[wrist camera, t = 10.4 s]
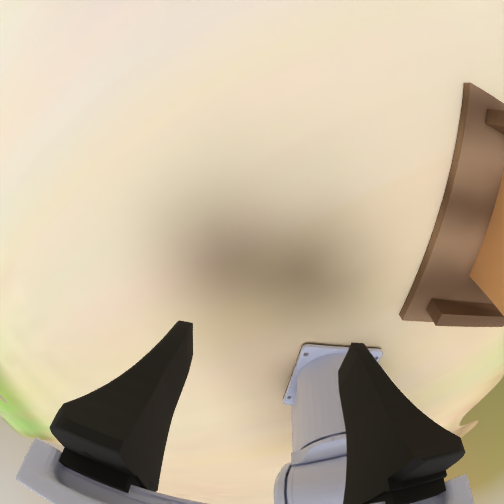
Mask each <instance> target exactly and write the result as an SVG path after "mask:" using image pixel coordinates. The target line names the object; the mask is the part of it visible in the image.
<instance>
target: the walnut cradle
mask: <svg viewBox="0 0 504 504" xmlns="http://www.w3.org/2000/svg"><path fill="white" fill-rule="evenodd" d="M503 171H504V103H502V102H501V101H499V100H498V99H496V98H495V97H493V96H491V95H490V94H488V93H487V92H485V91H483V90H482V89H480V88H478V87H477V86H475V85H473V84H472V83H464V91H463V101H462V109H461V117H460V124H459V130H458V136H457V141H456V147H455V152H454V157H453V161H452V166H451V170H450V174H449V178H448V182H447V186H446V190H445V194H444V198H443V201H442V205H441V208H440V211H439V215H438V218H437V221H436V224H435V227H434V230H433V233H432V236H431V239H430V242H429V245H428V248H427V250H426V253H425V256H424V258H423V261H422V264H421V266H420V269H419V271H418V274H417V276H416V279H415V281H414V283H413V286H412V288H411V290H410V293H409V295H408V297H407V299H406V302H405V304H404V306H403V308H402V310H401V312H400V314H399V315H400V317H401V319H402V320H407V321H424V322H434V324H435V325H436V326H464V327H503V326H504V316H503V315H502V313H501V312H500V311H499V310H498V308H497V307H496V306H495V305H494V304H493V302H492V301H491V300H490V299H489V298H488V297H487V295H486V294H485V293H484V292H483V291H482V290H481V288H480V287H479V286H478V285H477V284H476V283H475V282H474V281H473V280H472V279H471V277H470V276H469V275H470V273H471V270H472V268H473V266H474V263H475V261H476V258H477V256H478V253H479V251H480V248H481V245H482V243H483V240H484V237H485V234H486V232H487V229H488V226H489V223H490V220H491V216H492V213H493V210H494V206H495V203H496V199H497V196H498V192H499V188H500V184H501V180H502V176H503Z"/></svg>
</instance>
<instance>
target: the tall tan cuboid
mask: <svg viewBox="0 0 504 504" xmlns="http://www.w3.org/2000/svg"><path fill="white" fill-rule="evenodd" d="M469 276H470V277H471V279H472V280H473V281H474V282H475V283H476V284H477V285H478V286H479V287H480V288H481V290H482V291H483V292H484V293H485V294H486V295H487V297H488V298H489V299H490V300H491V301H492V302H493V304H494V305H495V306H496V307H497V308H498V310H499V311H500V312H501V313H502V315H503V316H504V171H503V176H502V180H501V184H500V188H499V192H498V196H497V199H496V203H495V206H494V210H493V213H492V216H491V220H490V223H489V226H488V229H487V232H486V234H485V237H484V240H483V243H482V245H481V248H480V251H479V253H478V256H477V258H476V261H475V263H474V266H473V268H472V270H471V273H470V275H469Z"/></svg>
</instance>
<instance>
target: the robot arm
mask: <svg viewBox="0 0 504 504" xmlns="http://www.w3.org/2000/svg"><path fill="white" fill-rule="evenodd" d="M306 352H307V353H306ZM382 354H383V353H382V350H381V349H374V348H367V347H366V346H365V345H364V343H351V345H350V347H338V346H325V345H314V344H305V345H303V346H302V348H301V351H300V354H299V357H298V360H297V363H296V366H295V368H294V371H293V374H292V377H291V380H290V382H289V385H288V388H287V390H286V393H285V396H284V398H283V403H284V404H287V405H292V447H293V452H292V453H291V463H288V464H285V465H284V466H283V467H282V469H281V471H280V472H279V473H278V475H277V477H276V480H275V484H274V504H474V502H473V497H472V493H471V489H470V485H469V481H468V477H467V475H466V474H465V475H462V476H459V477H456V478H454V479H451V480H449V481H447V482H444V478H445V477H446V476H447V473H446V469H448V468H449V467H451V466H452V465H453V464H455V463H456V462H457V461H459V460H460V459H461V458H462V457H463V456H464V454H465V450H464V447H463V444H462V441H461V438H460V437H459V436H457V435H455V434H453V433H451V432H449V431H448V430H446V429H444V428H443V427H441V426H440V425H438V424H437V423H435V422H434V421H433V420H431V419H430V418H429V417H427V416H426V415H425V414H424V413H422V412H421V411H420V410H419V409H418V408H417V407H416V406H414V405H413V404H412V403H411V402H410V401H409V400H408V399H407V398H406V397H405V396H404V394H403V393H402V392H401V391H400V390H399V389H398V388H397V387H396V385H395V384H394V383H393V382H392V381H391V379H390V378H389V377H388V376H387V374H386V373H385V372H384V370H383V369H382V368H381V366H380V365H379V364H378V361H379V360H380V358H381V356H382ZM192 356H193V323H190V322H184V321H178V322H177V323H176V324H175V325H174V326H173V328H172V329H171V330H170V331H169V332H168V333H167V334H166V335H165V337H164V338H163V339H162V340H161V341H160V342H159V343H158V344H157V345H156V346H155V347H154V348H153V349H152V350H151V351H150V352H149V353H148V354H146V355H145V356H144V357H143V358H142V359H141V360H140V361H139V362H137V363H136V364H135V365H134V366H133V367H131V368H130V369H129V370H127V371H126V372H125V373H123V374H122V375H120V376H119V377H117V378H116V379H114V380H113V381H111V382H110V383H108V384H106V385H104V386H103V387H101V388H99V389H97V390H95V391H93V392H91V393H89V394H87V395H85V396H82V397H80V398H77V399H75V400H72V401H70V402H67V403H64V404H63V405H62V407H61V408H60V409H59V411H58V412H57V414H56V416H55V418H54V420H53V422H52V424H51V426H50V430H51V432H52V434H53V435H54V436H55V437H56V439H57V440H58V441H59V442H60V443H61V444H62V445H63V446H64V447H65V448H64V450H63V452H61V451H59V450H58V449H56V448H55V447H53V446H51V445H49V444H47V443H45V442H44V441H42V440H40V439H39V438H35V439H34V441H33V443H32V445H31V447H30V449H29V451H28V453H27V455H26V457H25V459H24V461H23V463H22V465H21V468H20V470H19V472H18V474H17V476H16V479H17V480H18V481H19V482H20V483H22V484H23V485H25V486H26V487H28V488H29V489H31V490H32V491H34V492H35V493H37V494H38V495H40V496H42V497H43V498H45V499H46V500H48V501H50V502H52V503H53V504H207V503H201V502H196V501H191V500H186V499H181V498H177V497H173V496H169V495H165V494H161V493H157V492H156V491H157V490H158V484H159V478H160V472H161V466H162V461H163V455H164V450H165V446H166V441H167V437H168V432H169V428H170V424H171V420H172V417H173V413H174V410H175V408H176V405H177V402H178V400H179V397H180V394H181V392H182V389H183V386H184V384H185V381H186V378H187V376H188V373H189V369H190V365H191V360H192Z"/></svg>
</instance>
